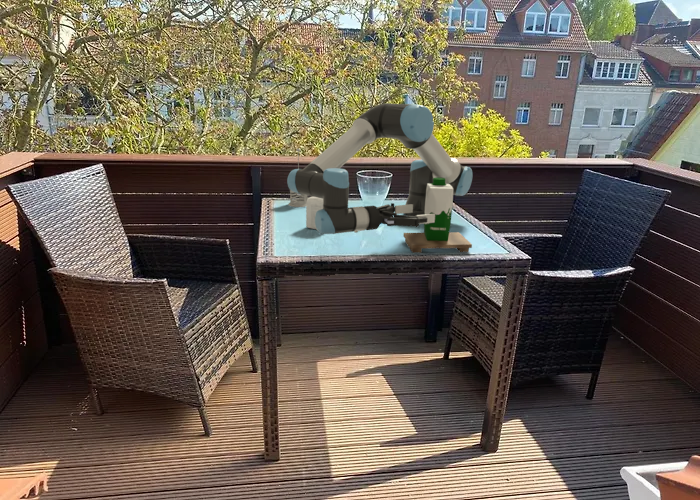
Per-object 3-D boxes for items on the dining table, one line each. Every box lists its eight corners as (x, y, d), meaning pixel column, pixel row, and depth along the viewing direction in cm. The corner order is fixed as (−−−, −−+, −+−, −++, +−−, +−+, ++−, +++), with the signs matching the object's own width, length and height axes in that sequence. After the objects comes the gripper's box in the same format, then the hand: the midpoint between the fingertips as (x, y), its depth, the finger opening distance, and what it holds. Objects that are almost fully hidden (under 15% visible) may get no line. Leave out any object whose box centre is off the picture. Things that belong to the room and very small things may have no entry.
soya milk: (446, 234, 172) (451, 177, 166) (451, 242, 164) (456, 182, 157) (421, 233, 172) (425, 176, 166) (424, 241, 164) (429, 181, 158)
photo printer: (333, 229, 186) (334, 197, 182) (327, 232, 182) (328, 199, 178) (310, 225, 191) (310, 194, 187) (304, 228, 187) (304, 196, 183)
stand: (458, 240, 176) (458, 232, 175) (471, 253, 163) (471, 244, 162) (403, 240, 174) (403, 232, 173) (411, 253, 161) (412, 245, 160)
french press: (289, 201, 228) (288, 146, 220) (314, 202, 228) (314, 147, 220) (286, 206, 219) (285, 149, 211) (312, 207, 219) (312, 150, 211)
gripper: (348, 220, 166) (403, 215, 174) (382, 241, 144) (443, 234, 152) (348, 198, 163) (404, 194, 171) (383, 216, 142) (445, 210, 150)
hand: (422, 213), depth 162 cm, fingers open, 13 cm apart
